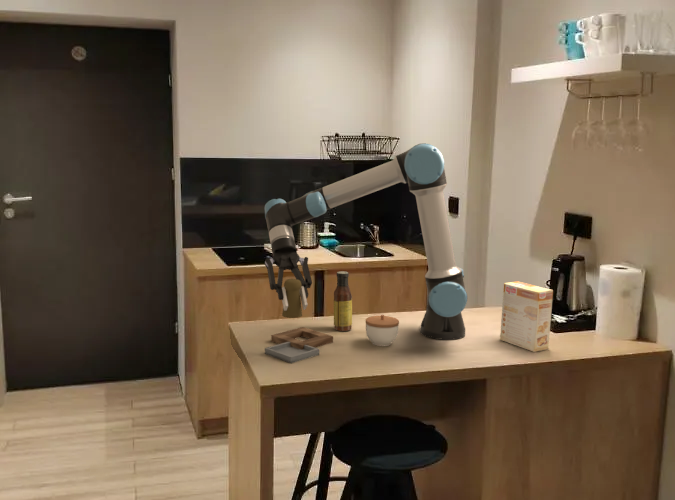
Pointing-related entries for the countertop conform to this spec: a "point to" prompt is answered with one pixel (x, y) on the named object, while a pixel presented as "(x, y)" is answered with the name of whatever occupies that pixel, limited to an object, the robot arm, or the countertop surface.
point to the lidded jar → (381, 329)
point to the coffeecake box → (526, 316)
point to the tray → (291, 352)
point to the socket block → (314, 336)
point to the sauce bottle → (342, 303)
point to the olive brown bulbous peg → (293, 298)
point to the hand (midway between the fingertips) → (295, 307)
